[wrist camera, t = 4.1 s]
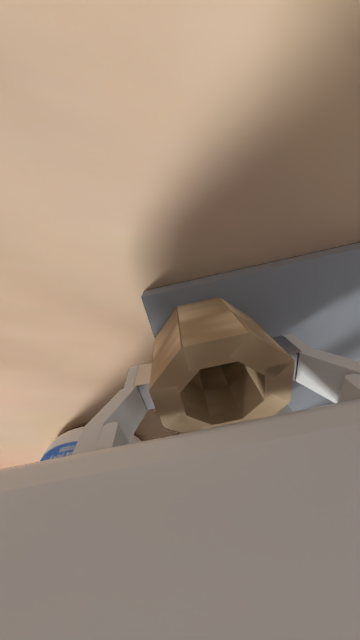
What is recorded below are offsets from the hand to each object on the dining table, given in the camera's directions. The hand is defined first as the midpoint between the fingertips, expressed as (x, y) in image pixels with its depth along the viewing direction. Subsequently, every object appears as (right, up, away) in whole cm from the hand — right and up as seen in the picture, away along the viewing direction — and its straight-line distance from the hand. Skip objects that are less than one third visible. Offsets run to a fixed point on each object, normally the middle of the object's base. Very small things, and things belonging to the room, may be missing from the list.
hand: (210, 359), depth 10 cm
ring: (0, +1, +1) cm, 1 cm away
